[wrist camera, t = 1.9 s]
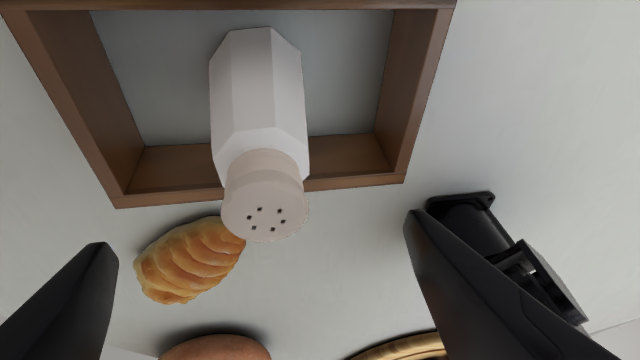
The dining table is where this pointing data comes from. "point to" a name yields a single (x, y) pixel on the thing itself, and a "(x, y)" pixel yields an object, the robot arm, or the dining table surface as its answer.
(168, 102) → the dining table surface
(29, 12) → the wooden box
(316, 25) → the dining table surface
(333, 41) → the dining table surface
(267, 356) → the ceramic jug
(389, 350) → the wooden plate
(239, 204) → the pepper shaker
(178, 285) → the pastry
